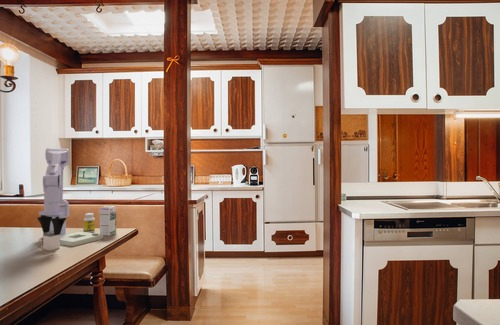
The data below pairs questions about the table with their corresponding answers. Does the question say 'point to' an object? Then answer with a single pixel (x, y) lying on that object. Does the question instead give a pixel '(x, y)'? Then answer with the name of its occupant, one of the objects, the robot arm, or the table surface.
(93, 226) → the supplement bottle
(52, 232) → the plug
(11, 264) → the table surface
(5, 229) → the table surface
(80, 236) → the socket block
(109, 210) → the syrup box
